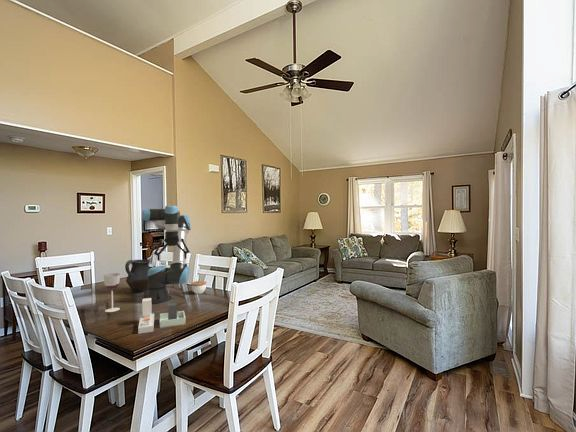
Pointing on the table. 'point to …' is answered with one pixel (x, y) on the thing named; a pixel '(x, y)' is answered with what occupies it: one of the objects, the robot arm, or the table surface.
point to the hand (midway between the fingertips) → (172, 265)
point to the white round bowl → (198, 287)
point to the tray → (174, 322)
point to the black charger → (172, 311)
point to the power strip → (146, 324)
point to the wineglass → (112, 286)
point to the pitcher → (138, 275)
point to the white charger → (147, 306)
